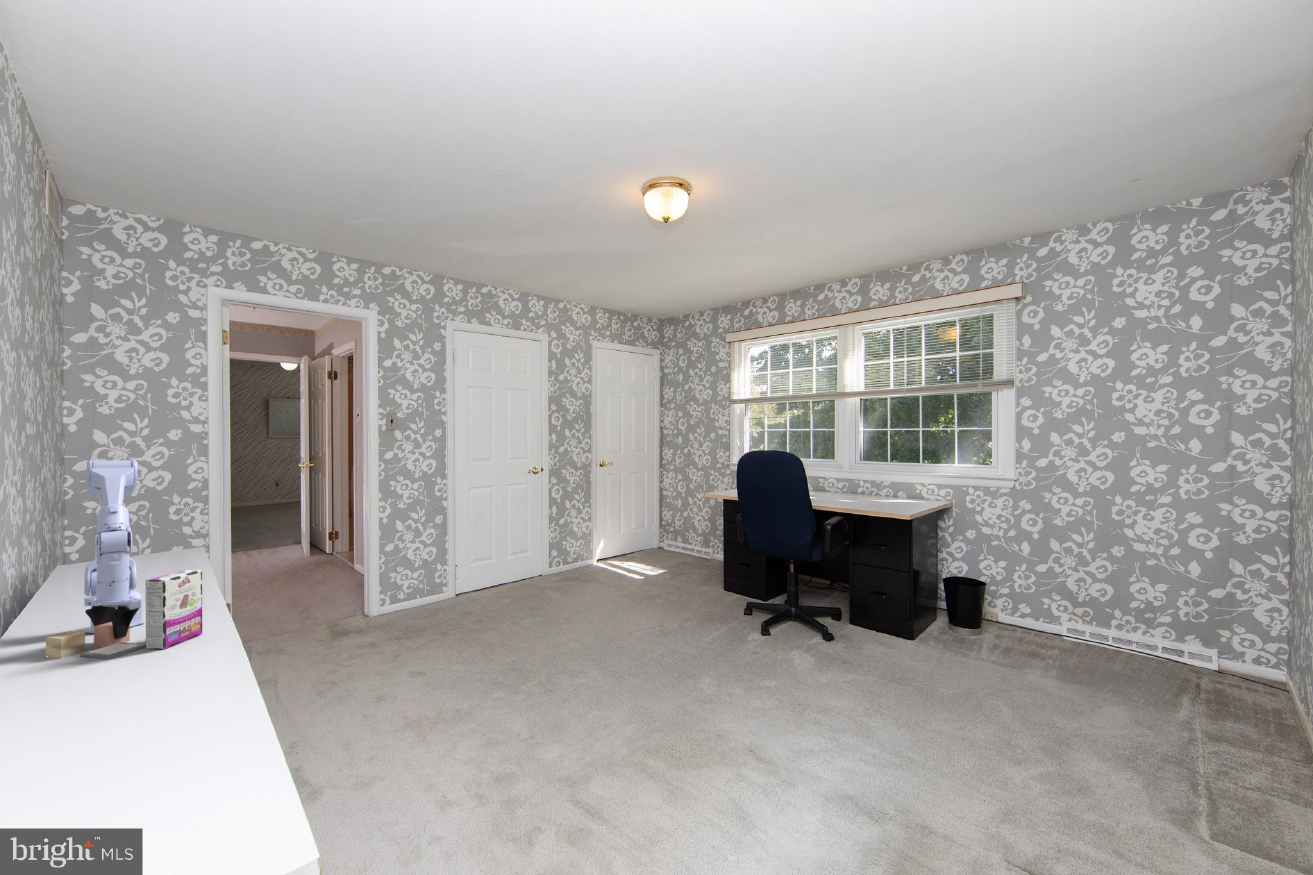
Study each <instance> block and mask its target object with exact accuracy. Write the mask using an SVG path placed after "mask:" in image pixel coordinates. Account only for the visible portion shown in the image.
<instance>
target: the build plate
mask: <svg viewBox="0 0 1313 875" xmlns="http://www.w3.org/2000/svg"><path fill="white" fill-rule="evenodd" d="M143 648H144V649H145V648H146V643H137V642H127V641H126V642H118V643H114V644H111V645H108V646H100V647H98V648H95V649H91V650H88V651H85V652H81V653H79V657H82V658H83V657H84V658H93V659H101V660H103V659H104V660H110V659H113V658H116V657H120V656H122V655H125V654H128V653H132V652H135V651H138V650H141V649H143Z"/></svg>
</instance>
